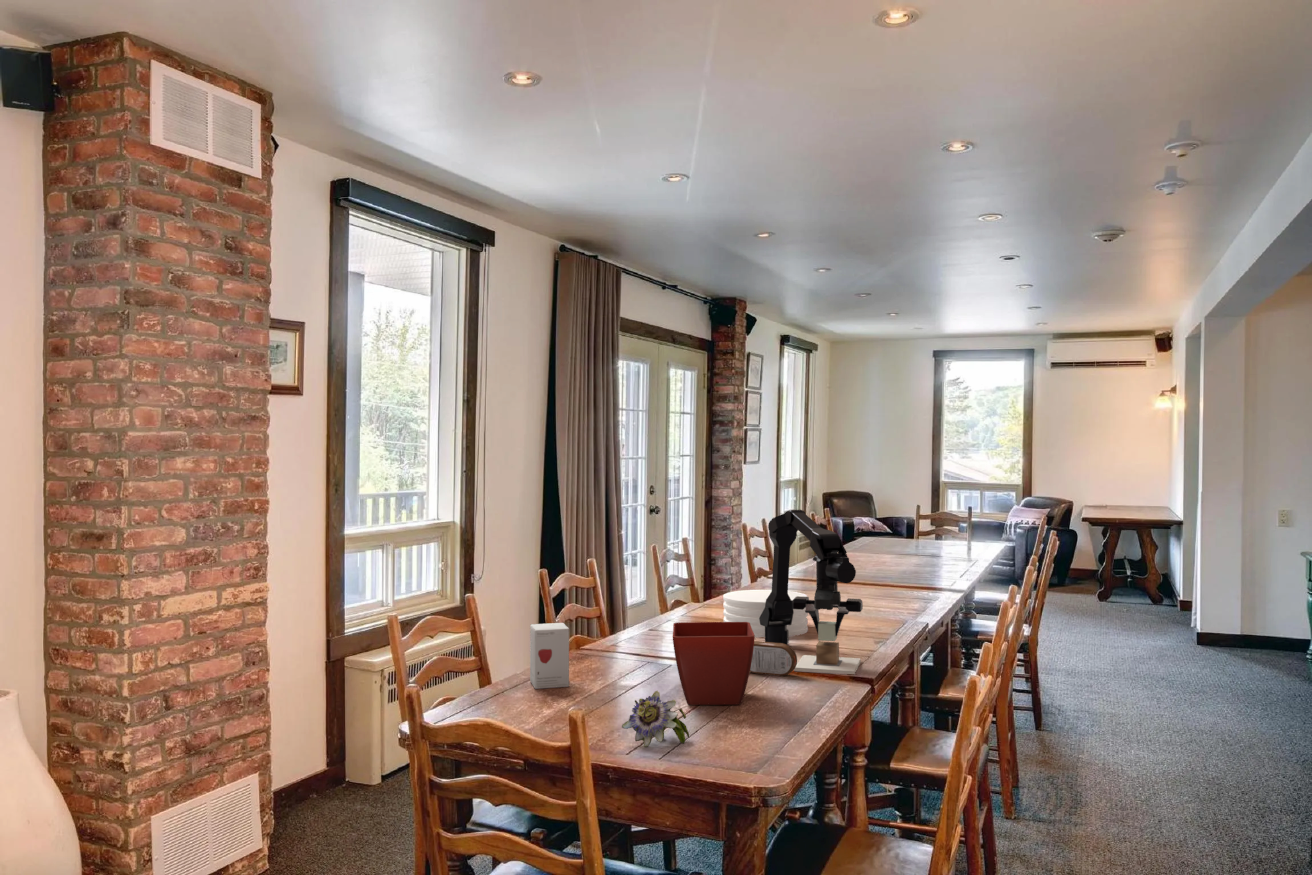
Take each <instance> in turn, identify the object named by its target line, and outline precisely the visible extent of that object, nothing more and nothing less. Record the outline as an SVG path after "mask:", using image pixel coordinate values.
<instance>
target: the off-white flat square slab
mask: <svg viewBox="0 0 1312 875" xmlns="http://www.w3.org/2000/svg"><path fill="white" fill-rule="evenodd" d="M860 664H861V658H858V657H843V656H841V657H840V656H839V662H838V663H837V665H831V664H816V655H810V654H807V655H806V654H803V655H802V656H801V658H800V659H799V660H798V661H797V665H796V667H795V669H794V670H793V671H794V672H802V673H818V674H830V675H831V674H834V675H847V674H854V675H853V676H856V673H857V671H856V670H858V669H859V667H860ZM855 672H856V673H855Z"/></svg>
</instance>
